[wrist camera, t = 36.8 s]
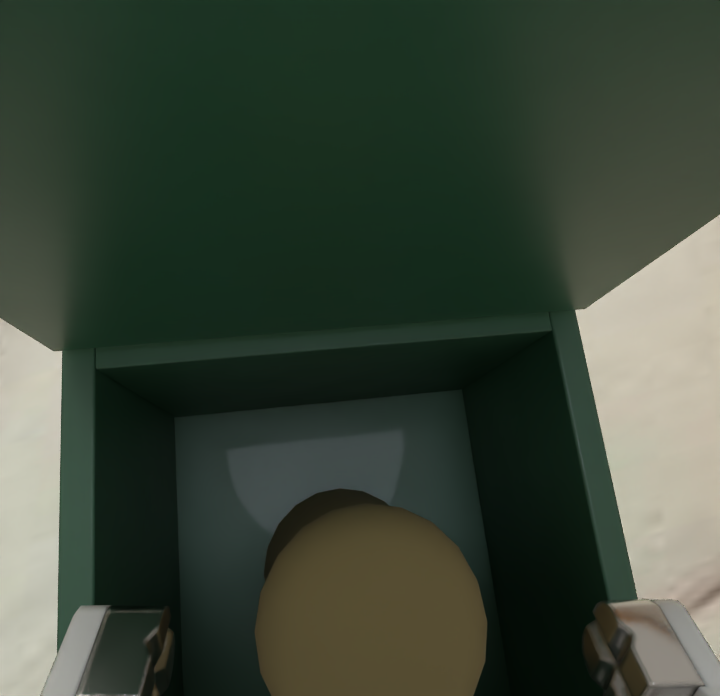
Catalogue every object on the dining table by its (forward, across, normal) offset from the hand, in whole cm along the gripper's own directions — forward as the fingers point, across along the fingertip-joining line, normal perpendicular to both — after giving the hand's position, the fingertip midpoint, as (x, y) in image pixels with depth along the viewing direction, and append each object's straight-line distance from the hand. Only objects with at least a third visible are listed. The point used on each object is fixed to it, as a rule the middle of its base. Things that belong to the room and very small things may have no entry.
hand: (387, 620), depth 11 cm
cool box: (+8, 0, +9) cm, 12 cm away
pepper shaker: (+8, 0, +9) cm, 12 cm away
